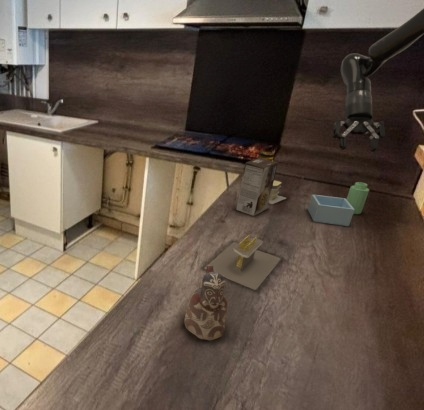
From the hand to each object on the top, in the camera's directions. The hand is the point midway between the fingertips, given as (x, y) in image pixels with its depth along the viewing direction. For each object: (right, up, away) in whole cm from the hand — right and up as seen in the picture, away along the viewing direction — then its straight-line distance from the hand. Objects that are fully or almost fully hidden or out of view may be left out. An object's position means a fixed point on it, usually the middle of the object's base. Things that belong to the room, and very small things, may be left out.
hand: (358, 149), depth 119 cm
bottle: (-4, -20, -3) cm, 21 cm away
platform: (-53, -33, -32) cm, 70 cm away
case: (-16, -22, -8) cm, 28 cm away
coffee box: (-37, -20, -2) cm, 42 cm away
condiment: (-23, -10, +22) cm, 33 cm away
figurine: (-69, -41, -52) cm, 96 cm away
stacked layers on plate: (-27, -16, +8) cm, 32 cm away
